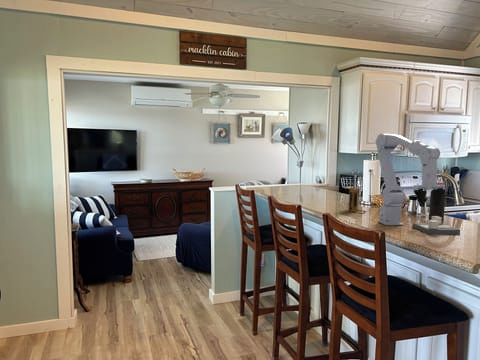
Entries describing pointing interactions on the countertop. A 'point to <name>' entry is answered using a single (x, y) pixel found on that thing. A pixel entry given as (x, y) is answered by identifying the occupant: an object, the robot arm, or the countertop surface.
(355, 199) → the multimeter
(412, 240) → the countertop surface
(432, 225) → the tab front
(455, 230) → the switch panel
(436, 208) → the bottle
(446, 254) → the countertop surface
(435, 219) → the tab back
